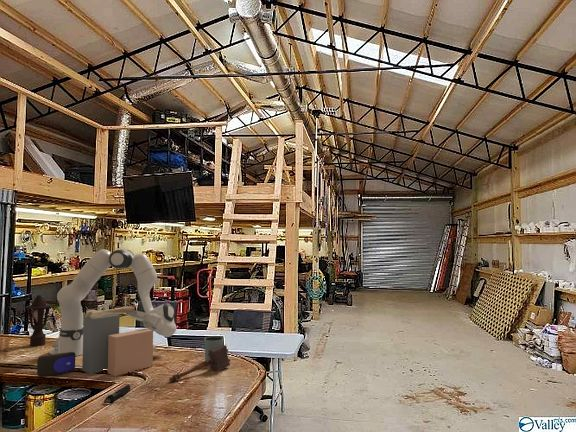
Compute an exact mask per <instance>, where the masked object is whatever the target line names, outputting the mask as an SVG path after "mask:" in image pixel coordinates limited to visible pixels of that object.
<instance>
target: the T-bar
mask: <svg viewBox="0 0 576 432" xmlns="http://www.w3.org/2000/svg"><path fill="white" fill-rule="evenodd" d="M135 309H136V308H135V306H126V307H125V306H124V307H119V308H118V307H117V308H112V309H105V310H98V309H97V310H96V309H91V310H86V314H85V315H86V316H85V317H88V318H92V319H95V318H101V317H103V316H110V315H122V314H123V315H124V314H129V313H131V312H134V310H135ZM135 311H136V310H135Z"/></svg>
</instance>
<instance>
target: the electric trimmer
mask: <svg viewBox="0 0 576 432" xmlns="http://www.w3.org/2000/svg"><path fill="white" fill-rule="evenodd" d="M130 390H131V385H130V384H127V385H125V386H123V387H121V388H120V389H118V390H116V391H115V392H113V393H111V394H108V395H107V396H106V398H104V401H103V404H104V403H113V404H114V402H115V401H116V400H118V399H119V398H120V397H121V398H122V397H125V395H127V394H128V392H130Z"/></svg>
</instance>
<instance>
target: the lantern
mask: <svg viewBox="0 0 576 432" xmlns="http://www.w3.org/2000/svg"><path fill="white" fill-rule="evenodd" d="M52 307H53V305H52V304H49V303H48V304H47V302H46V301H45V300H44V297H42V295H41V294H37V295H36V296H35V298H34V300H33V301H32V303H31V304H30V305H26V306H25V309H26V310H27V313H28V321H29V324H30V328H32V330H33V332H32V335H30V337H29V338H30V339H29V347H43V346H45V345H46V336H47V335H46V334H45V333H44V328H45V327H46V326H47V325H46V324H47V322H48V318H49V317H48V316H49V312H50V309H51V308H52ZM32 311H33V314H32Z"/></svg>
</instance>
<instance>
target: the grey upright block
mask: <svg viewBox="0 0 576 432" xmlns="http://www.w3.org/2000/svg"><path fill="white" fill-rule="evenodd" d="M120 315H121V314H117V315H110V316H103V317H101V318H95V319H92V318H88V317H86V316H83V354H82V367H81V370H82V372H84V373H87V374H89V375H93V374H98V373H101V372H100V371H101V370H103V369H108V335H113V334H119V333H120V317H121V316H120Z"/></svg>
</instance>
